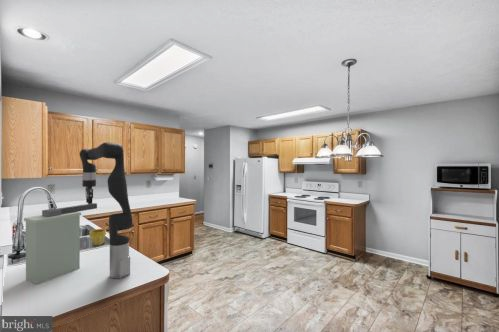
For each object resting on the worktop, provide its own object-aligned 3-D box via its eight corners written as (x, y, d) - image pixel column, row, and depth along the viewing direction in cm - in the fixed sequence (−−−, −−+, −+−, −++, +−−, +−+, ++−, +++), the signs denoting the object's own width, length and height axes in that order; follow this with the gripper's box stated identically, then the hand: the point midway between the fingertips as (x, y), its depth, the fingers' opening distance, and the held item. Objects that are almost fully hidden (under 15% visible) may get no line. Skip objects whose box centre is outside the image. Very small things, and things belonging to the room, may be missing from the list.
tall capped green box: (69, 264, 140) (69, 210, 139) (81, 268, 135) (81, 212, 135) (24, 280, 121) (23, 218, 120) (35, 285, 116) (35, 220, 116)
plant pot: (87, 246, 169) (87, 233, 169) (92, 242, 179) (92, 229, 179) (103, 245, 172) (103, 232, 172) (107, 241, 182) (107, 228, 182)
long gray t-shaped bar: (92, 207, 149) (92, 202, 149) (98, 208, 146) (98, 203, 146) (42, 215, 125) (42, 210, 125) (48, 217, 123) (48, 211, 123)
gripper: (97, 179, 154) (97, 204, 155) (94, 178, 165) (94, 201, 166) (83, 180, 150) (83, 205, 150) (81, 178, 160) (81, 202, 161)
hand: (89, 203), depth 158 cm, fingers open, 8 cm apart
